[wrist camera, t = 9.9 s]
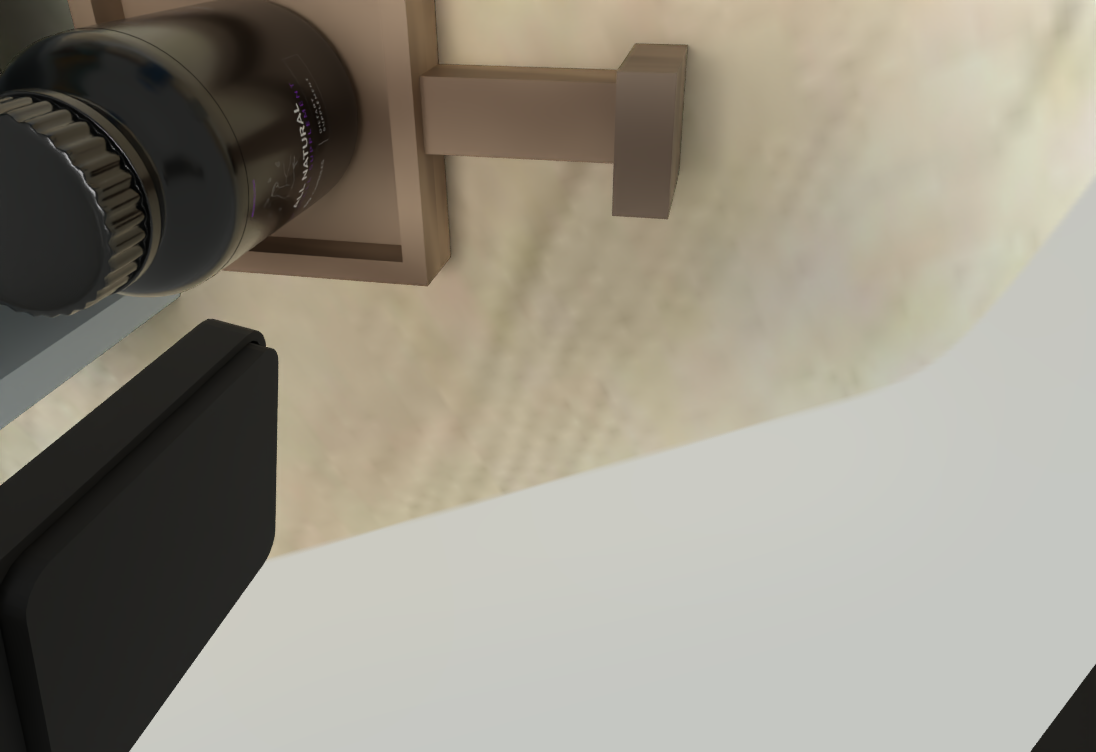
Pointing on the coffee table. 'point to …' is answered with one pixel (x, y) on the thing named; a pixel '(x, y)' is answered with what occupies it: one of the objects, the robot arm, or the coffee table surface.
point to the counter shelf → (61, 346)
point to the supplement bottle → (162, 149)
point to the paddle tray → (452, 135)
